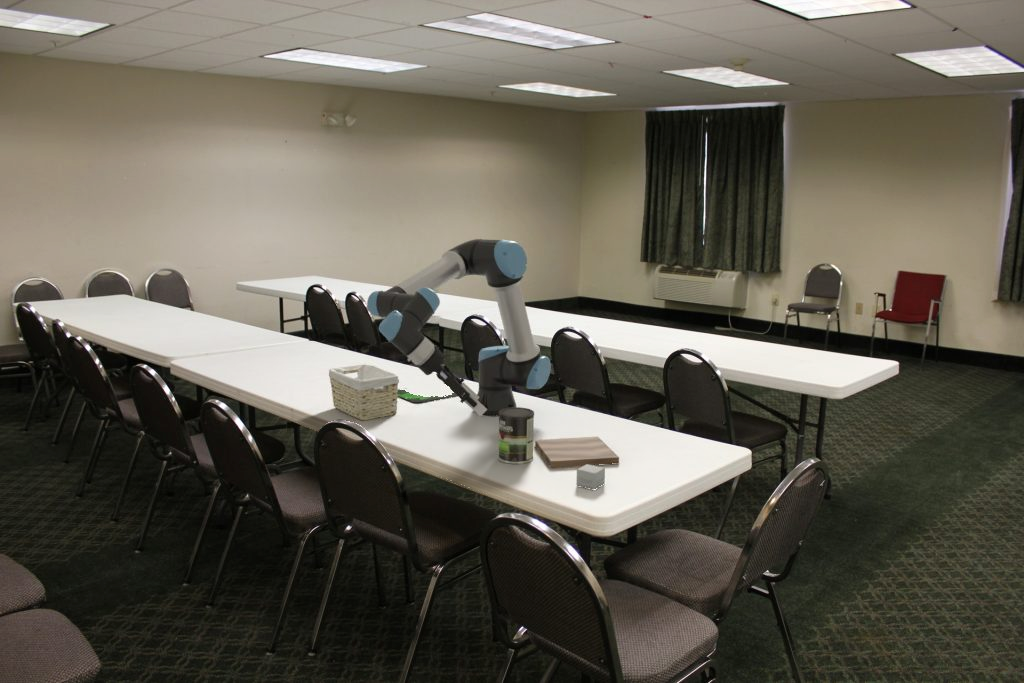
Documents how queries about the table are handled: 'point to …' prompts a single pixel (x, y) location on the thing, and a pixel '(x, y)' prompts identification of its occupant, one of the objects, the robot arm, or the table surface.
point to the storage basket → (364, 391)
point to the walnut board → (575, 452)
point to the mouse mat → (420, 397)
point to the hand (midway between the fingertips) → (479, 406)
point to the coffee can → (516, 435)
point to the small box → (590, 476)
